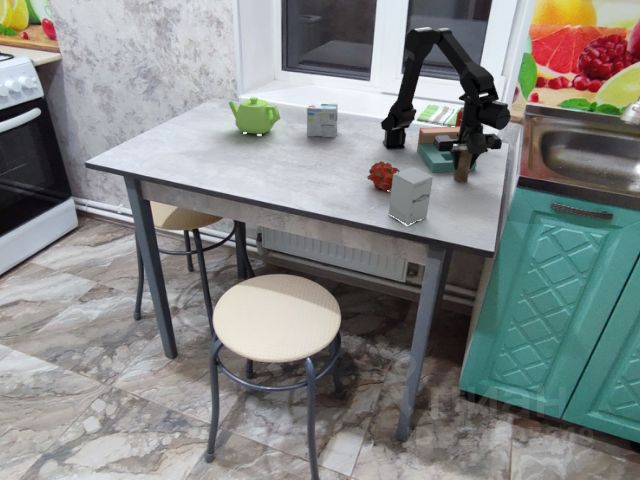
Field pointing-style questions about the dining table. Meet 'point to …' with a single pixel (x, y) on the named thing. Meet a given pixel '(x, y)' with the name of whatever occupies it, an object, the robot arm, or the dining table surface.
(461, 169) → the walnut peg
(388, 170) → the dragon fruit
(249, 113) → the teapot
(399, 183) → the supplement box
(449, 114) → the dish towel
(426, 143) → the socket plate
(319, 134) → the light bulb box
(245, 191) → the dining table surface
